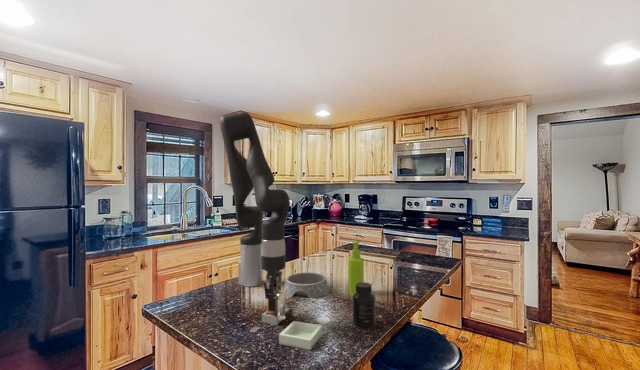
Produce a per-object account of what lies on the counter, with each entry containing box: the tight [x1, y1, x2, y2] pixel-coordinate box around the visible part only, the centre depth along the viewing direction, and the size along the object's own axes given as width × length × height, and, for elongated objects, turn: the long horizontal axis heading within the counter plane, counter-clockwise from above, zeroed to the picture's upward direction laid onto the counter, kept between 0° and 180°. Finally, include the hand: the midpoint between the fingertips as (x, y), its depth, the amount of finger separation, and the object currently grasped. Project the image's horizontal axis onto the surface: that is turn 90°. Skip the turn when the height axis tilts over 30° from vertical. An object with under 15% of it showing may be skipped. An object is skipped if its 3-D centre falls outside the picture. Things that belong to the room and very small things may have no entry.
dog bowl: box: [282, 272, 330, 299], centre depth 125 cm, size 17×18×5 cm
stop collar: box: [261, 310, 284, 325], centre depth 97 cm, size 5×5×2 cm
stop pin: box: [266, 287, 277, 316], centre depth 97 cm, size 3×3×11 cm
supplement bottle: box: [352, 281, 376, 330], centre depth 94 cm, size 7×7×12 cm
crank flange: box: [249, 304, 290, 333], centre depth 98 cm, size 7×20×1 cm, turn 159°
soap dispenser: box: [347, 240, 365, 295], centre depth 123 cm, size 6×7×20 cm
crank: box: [277, 291, 286, 320], centre depth 99 cm, size 15×4×8 cm, turn 11°
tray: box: [278, 320, 324, 351], centre depth 85 cm, size 9×9×2 cm
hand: (273, 308), depth 97 cm, fingers closed on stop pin, 3 cm apart
